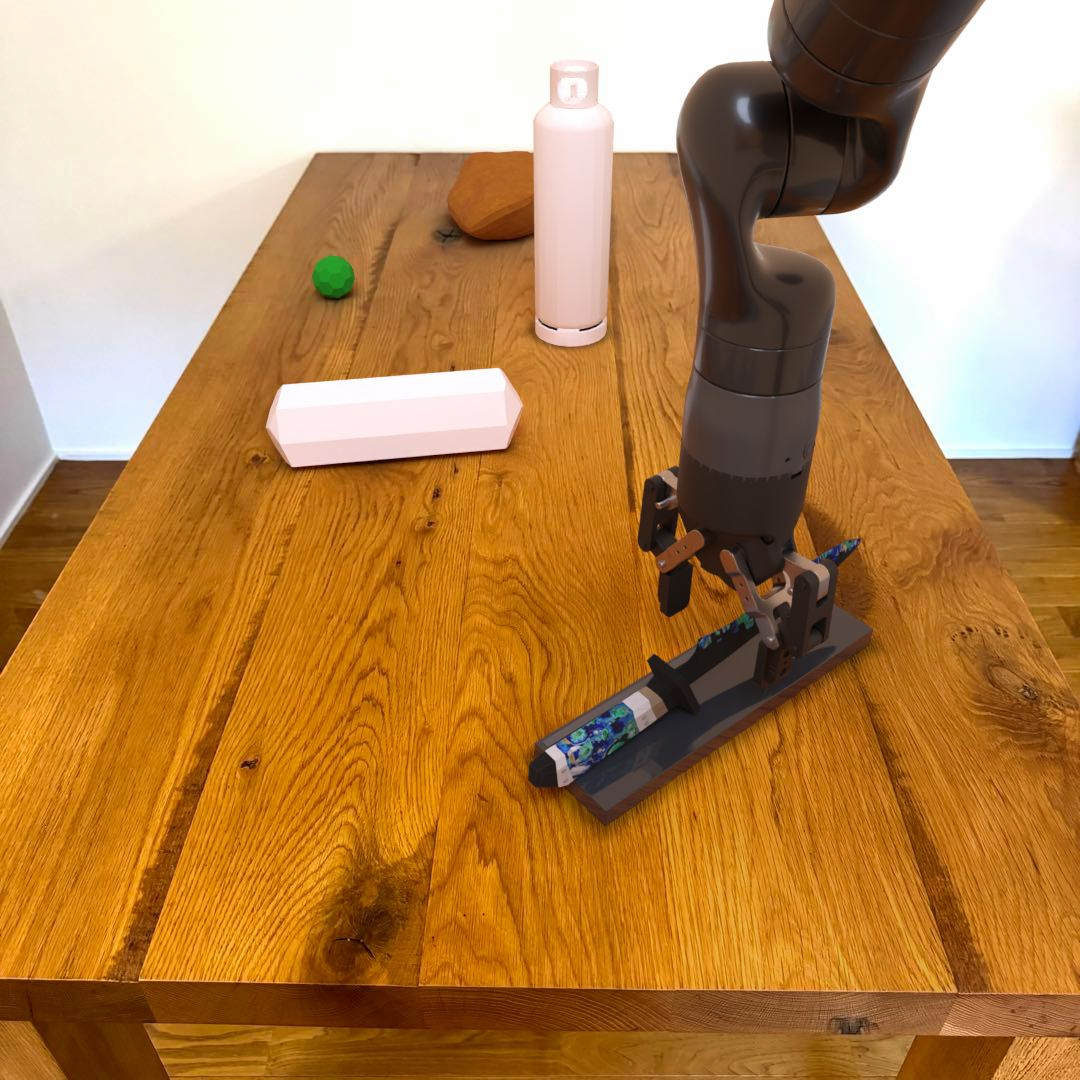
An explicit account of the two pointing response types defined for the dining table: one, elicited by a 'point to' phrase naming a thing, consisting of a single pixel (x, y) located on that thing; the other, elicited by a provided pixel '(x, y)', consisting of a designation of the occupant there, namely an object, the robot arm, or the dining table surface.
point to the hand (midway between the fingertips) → (719, 643)
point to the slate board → (698, 719)
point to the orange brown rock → (494, 195)
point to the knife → (651, 698)
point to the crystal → (393, 417)
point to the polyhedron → (333, 276)
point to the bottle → (572, 209)
